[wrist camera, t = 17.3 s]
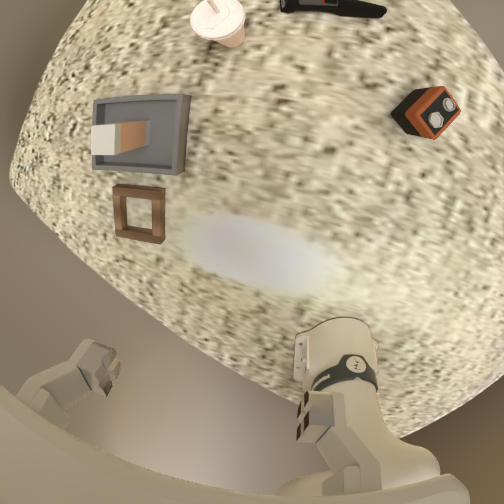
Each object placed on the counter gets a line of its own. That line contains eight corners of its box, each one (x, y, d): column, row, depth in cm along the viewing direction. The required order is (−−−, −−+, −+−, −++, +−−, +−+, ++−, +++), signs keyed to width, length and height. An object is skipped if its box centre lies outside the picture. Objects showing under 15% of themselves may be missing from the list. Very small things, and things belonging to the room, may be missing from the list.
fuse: (149, 144, 38) (114, 155, 29) (128, 144, 38) (91, 154, 29) (150, 120, 36) (115, 124, 27) (129, 120, 36) (91, 125, 28)
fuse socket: (165, 239, 47) (160, 244, 45) (121, 231, 47) (115, 236, 45) (165, 188, 42) (160, 191, 41) (118, 183, 43) (112, 186, 41)
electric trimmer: (382, 25, 26) (388, 19, 23) (280, 14, 27) (280, 6, 25) (379, 6, 24) (385, 0, 21) (279, -4, 26) (278, -13, 23)
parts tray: (184, 170, 41) (176, 175, 37) (103, 165, 41) (92, 169, 38) (191, 95, 35) (182, 94, 32) (105, 99, 36) (93, 99, 32)
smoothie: (260, 25, 29) (247, -15, 16) (244, 60, 32) (223, 33, 19) (220, 16, 28) (190, -22, 16) (204, 50, 31) (166, 23, 19)
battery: (388, 113, 32) (417, 114, 24) (414, 88, 30) (447, 83, 21) (406, 135, 33) (438, 142, 25) (431, 109, 30) (466, 111, 22)
